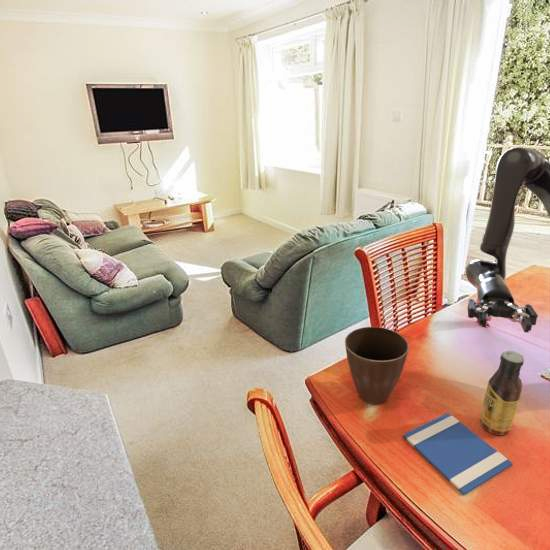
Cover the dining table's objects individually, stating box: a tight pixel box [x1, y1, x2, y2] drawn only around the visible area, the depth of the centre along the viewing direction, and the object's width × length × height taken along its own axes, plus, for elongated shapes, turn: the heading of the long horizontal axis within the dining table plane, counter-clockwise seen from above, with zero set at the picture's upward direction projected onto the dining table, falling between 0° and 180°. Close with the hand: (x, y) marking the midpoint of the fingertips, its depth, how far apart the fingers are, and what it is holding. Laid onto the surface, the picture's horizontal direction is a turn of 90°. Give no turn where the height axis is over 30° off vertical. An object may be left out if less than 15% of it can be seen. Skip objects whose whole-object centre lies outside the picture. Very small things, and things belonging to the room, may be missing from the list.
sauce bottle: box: [479, 350, 525, 436], centre depth 81 cm, size 6×6×20 cm
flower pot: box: [344, 326, 410, 405], centre depth 94 cm, size 15×15×16 cm
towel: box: [402, 412, 513, 496], centre depth 80 cm, size 14×16×1 cm
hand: (505, 326), depth 85 cm, fingers open, 8 cm apart
